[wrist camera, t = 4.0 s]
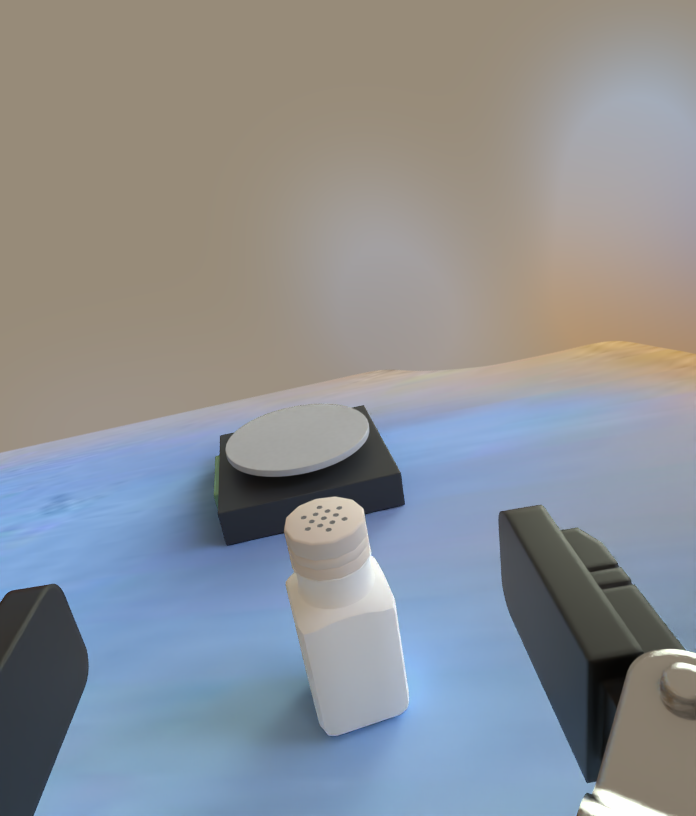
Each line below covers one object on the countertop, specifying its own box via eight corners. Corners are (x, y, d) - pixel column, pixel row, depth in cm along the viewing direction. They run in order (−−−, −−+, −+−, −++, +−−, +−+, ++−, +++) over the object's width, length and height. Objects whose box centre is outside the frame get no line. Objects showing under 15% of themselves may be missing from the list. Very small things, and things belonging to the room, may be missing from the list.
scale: (368, 431, 52) (361, 388, 50) (405, 504, 41) (398, 452, 39) (222, 463, 51) (210, 419, 49) (220, 547, 40) (205, 494, 38)
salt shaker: (306, 675, 29) (266, 505, 25) (386, 649, 30) (359, 481, 26) (324, 746, 26) (281, 562, 22) (415, 716, 26) (388, 532, 22)
